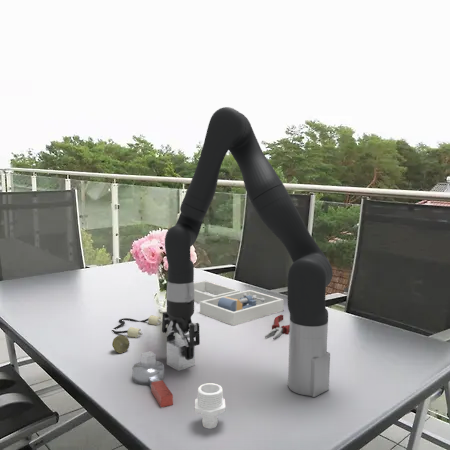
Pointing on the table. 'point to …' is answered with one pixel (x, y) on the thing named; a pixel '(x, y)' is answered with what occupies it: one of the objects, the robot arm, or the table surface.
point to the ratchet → (153, 378)
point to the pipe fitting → (210, 404)
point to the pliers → (278, 328)
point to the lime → (120, 343)
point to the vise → (238, 302)
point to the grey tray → (210, 290)
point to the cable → (135, 331)
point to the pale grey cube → (178, 355)
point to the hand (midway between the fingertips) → (179, 353)
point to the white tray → (244, 315)
